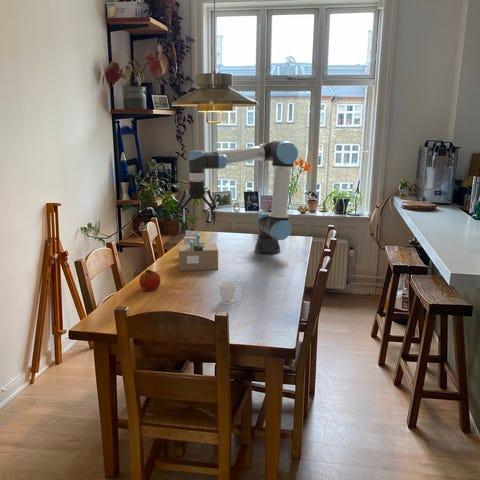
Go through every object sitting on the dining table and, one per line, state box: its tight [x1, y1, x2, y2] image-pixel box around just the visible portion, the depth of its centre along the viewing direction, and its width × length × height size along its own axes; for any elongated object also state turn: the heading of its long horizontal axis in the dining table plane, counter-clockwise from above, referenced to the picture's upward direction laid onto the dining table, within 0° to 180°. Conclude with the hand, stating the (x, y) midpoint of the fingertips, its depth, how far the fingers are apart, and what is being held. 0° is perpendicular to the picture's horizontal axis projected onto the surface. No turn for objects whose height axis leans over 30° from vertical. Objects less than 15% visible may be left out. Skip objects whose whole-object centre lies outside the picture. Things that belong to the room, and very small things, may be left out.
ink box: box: [183, 230, 201, 245], centre depth 265 cm, size 9×5×15 cm, turn 84°
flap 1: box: [178, 240, 194, 253], centre depth 244 cm, size 8×14×5 cm, turn 7°
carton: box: [178, 244, 219, 272], centre depth 246 cm, size 20×14×10 cm
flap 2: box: [196, 232, 219, 252], centre depth 245 cm, size 11×14×7 cm
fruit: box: [138, 269, 161, 292], centre depth 212 cm, size 10×10×10 cm
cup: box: [218, 281, 244, 305], centre depth 197 cm, size 7×10×8 cm
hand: (197, 221), depth 245 cm, fingers open, 13 cm apart
